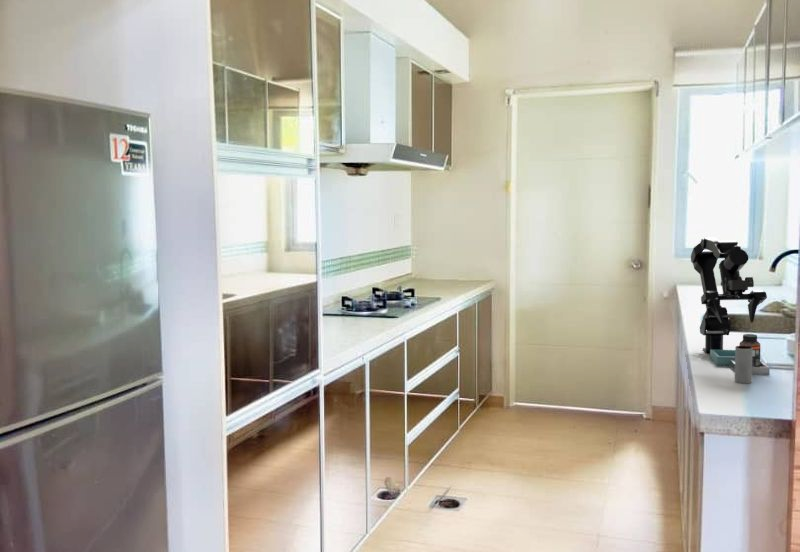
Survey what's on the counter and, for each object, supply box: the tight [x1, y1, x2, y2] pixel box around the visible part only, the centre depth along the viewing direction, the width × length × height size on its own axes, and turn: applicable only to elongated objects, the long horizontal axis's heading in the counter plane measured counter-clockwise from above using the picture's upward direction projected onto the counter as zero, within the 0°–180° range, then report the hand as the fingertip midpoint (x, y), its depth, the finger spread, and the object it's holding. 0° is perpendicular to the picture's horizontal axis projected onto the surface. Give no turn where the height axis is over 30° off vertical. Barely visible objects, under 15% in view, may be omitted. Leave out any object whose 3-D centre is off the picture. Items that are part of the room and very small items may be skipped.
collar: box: [729, 360, 771, 375], centre depth 231 cm, size 9×9×2 cm
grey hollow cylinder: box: [734, 345, 753, 384], centre depth 218 cm, size 4×4×10 cm
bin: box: [709, 349, 735, 367], centre depth 243 cm, size 12×12×3 cm
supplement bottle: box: [738, 333, 761, 367], centre depth 231 cm, size 6×6×11 cm
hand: (737, 322), depth 236 cm, fingers open, 9 cm apart
